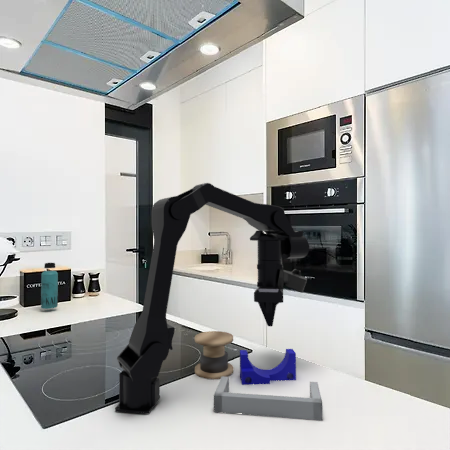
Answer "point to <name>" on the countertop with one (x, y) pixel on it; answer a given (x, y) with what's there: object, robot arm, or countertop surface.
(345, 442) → the countertop surface
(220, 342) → the bobbin
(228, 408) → the gray u-shaped bracket
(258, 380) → the cable clip
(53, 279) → the beverage bottle
